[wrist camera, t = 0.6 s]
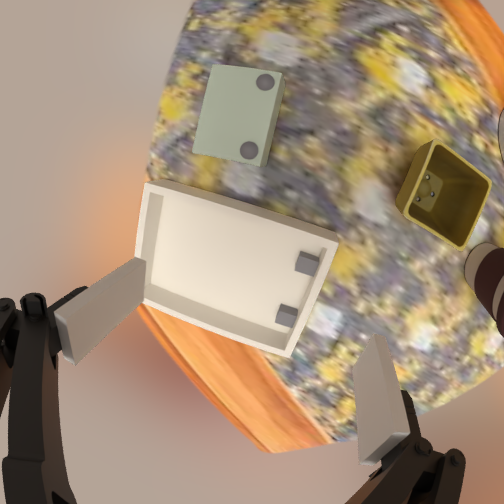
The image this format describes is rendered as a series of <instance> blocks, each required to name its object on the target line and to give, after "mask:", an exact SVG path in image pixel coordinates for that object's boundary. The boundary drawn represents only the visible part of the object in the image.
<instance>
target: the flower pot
mask: <svg viewBox="0 0 504 504" xmlns="http://www.w3.org/2000/svg"><path fill="white" fill-rule="evenodd" d="M427 175H429V179H426V176H427ZM491 186H492V181H491V180H490V179H489V178H488V177H487V176H486V175H484V174H483V173H482V172H480V171H479V170H478V169H477V168H475V167H474V166H473V165H471V164H470V163H469V162H467V161H466V160H465V159H464V158H462V157H461V156H460V155H459V154H457V153H456V152H455V151H453V150H452V149H451V148H449V147H448V146H447V145H445V144H444V143H443V142H441V141H440V140H438V139H434V140H432V141H430V142H428V143H426V144H424V145H423V146H421V147H420V148H419V149H418V150H417V152H416V154H415V156H414V159H413V161H412V164H411V166H410V169H409V171H408V173H407V176H406V178H405V180H404V183H403V185H402V187H401V189H400V191H399V193H398V195H397V198H396V202H395V203H396V206H397V208H398V209H399V211H400V212H401V213H402V214H403V216H404V217H405V218H407V219H408V220H410V221H412V222H414V223H415V224H417V225H419V226H421V227H422V228H424V229H426V230H427V231H429V232H431V233H432V234H434V235H435V236H437V237H438V238H440V239H442V240H443V241H445V242H446V243H448V244H449V245H450V246H452V247H453V248H455V249H456V250H458V251H463V250H464V249H465V247H466V245H467V243H468V241H469V239H470V237H471V235H472V232H473V230H474V228H475V226H476V224H477V221H478V219H479V217H480V214H481V212H482V210H483V207H484V205H485V203H486V200H487V198H488V195H489V193H490V190H491ZM431 192H433V193H434V196H431ZM417 197H419V198H420V200H419V201H417V200H416V198H417Z"/></svg>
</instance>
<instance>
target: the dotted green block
mask: <svg viewBox="0 0 504 504" xmlns="http://www.w3.org/2000/svg"><path fill="white" fill-rule="evenodd" d="M285 85H286V83H285V80H284V77H283V74H282V73H280V72H274V71H268V70H262V69H255V68H247V67H239V66H230V65H219V64H213V65H212V69H211V72H210V76H209V80H208V84H207V88H206V92H205V96H204V100H203V104H202V108H201V113H200V117H199V122H198V126H197V131H196V135H195V140H194V145H193V150H192V153H196V154H201V155H207V156H212V157H217V158H222V159H227V160H231V161H236V162H241V163H245V164H250V165H254V166H258V167H263V166H266V165H267V161H268V156H269V152H270V148H271V144H272V140H273V135H274V131H275V127H276V123H277V118H278V114H279V110H280V106H281V102H282V98H283V93H284V89H285Z"/></svg>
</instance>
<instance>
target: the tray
mask: <svg viewBox="0 0 504 504" xmlns="http://www.w3.org/2000/svg"><path fill="white" fill-rule="evenodd" d="M338 245H339V242H338V239H337V236H336V233H335V232H333V231H331V230H328V229H325V228H322V227H319V226H316V225H313V224H310V223H307V222H305V221H302V220H299V219H296V218H293V217H290V216H287V215H283V214H280V213H277V212H274V211H271V210H268V209H265V208H262V207H259V206H255V205H252V204H249V203H246V202H243V201H239V200H236V199H233V198H229V197H226V196H223V195H219V194H216V193H213V192H209V191H206V190H202V189H199V188H195V187H192V186H188V185H185V184H181V183H177V182H174V181H170V180H166V179H160V180H155V181H149V182H145V185H144V191H143V197H142V203H141V209H140V216H139V223H138V231H137V239H136V247H135V257H137V258H140V259H143V260H145V261H146V273H145V288H144V301H143V302H142V303H144V304H146V305H149V306H151V307H153V308H155V309H158V310H160V311H162V312H165V313H167V314H169V315H172V316H174V317H176V318H179V319H181V320H184V321H186V322H189V323H191V324H193V325H196V326H199V327H201V328H204V329H206V330H209V331H211V332H214V333H217V334H219V335H222V336H225V337H228V338H230V339H233V340H236V341H239V342H241V343H244V344H247V345H250V346H253V347H256V348H259V349H262V350H265V351H268V352H271V353H274V354H277V355H281V356H284V357H287V358H289V357H290V355H291V353H292V351H293V349H294V347H295V345H296V343H297V341H298V339H299V336H300V334H301V332H302V330H303V328H304V326H305V323H306V321H307V319H308V317H309V315H310V312H311V310H312V308H313V306H314V303H315V301H316V299H317V296H318V294H319V292H320V289H321V287H322V285H323V282H324V280H325V278H326V275H327V273H328V270H329V268H330V265H331V263H332V260H333V258H334V255H335V253H336V250H337V248H338ZM135 257H134V258H135Z"/></svg>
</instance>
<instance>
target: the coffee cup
mask: <svg viewBox="0 0 504 504" xmlns="http://www.w3.org/2000/svg"><path fill="white" fill-rule="evenodd" d="M465 278H466V281H467V283H468V285H469V286H470V287H471V288H472V290H473V291H474V292H475V294H476V296H477V298H478V299H479V301H480V302H481V303H482V305H483V306H484V307H485V308H486V310H487V311H488V312H489V314H490V315H491V317H492V318H493V319H494V321H496V324H497V328H498V331H499V333H500V334H501V335H502V336H503V338H504V248H499V247H497V246H495V245H493V244H490V243H482V244H480V245H478V246H477V247H475V248H474V249H473V250H472V252H471V253H470V255H469V256H468V259H467V261H466V264H465Z"/></svg>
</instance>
